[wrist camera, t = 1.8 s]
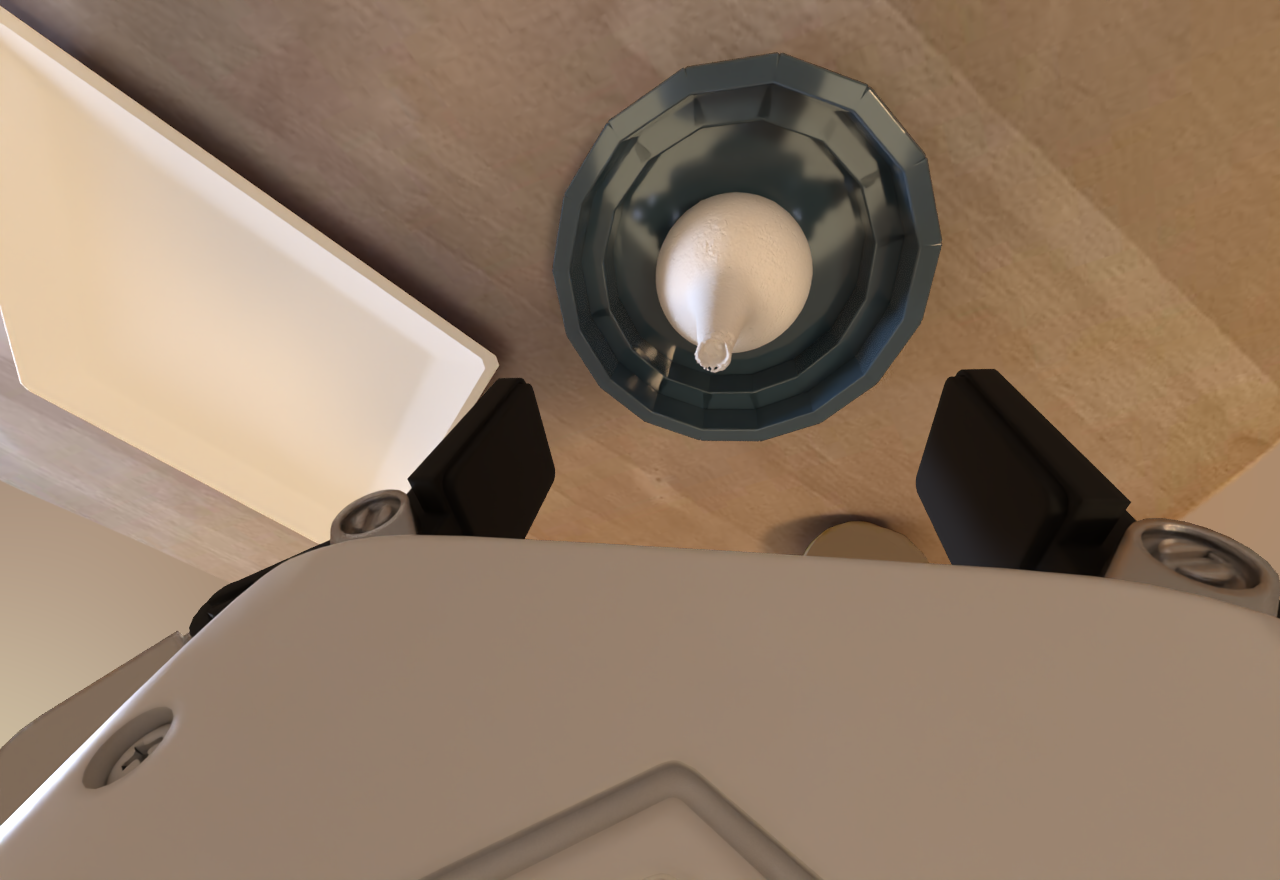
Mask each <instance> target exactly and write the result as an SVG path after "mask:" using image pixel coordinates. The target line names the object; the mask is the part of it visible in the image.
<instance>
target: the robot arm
mask: <svg viewBox="0 0 1280 880" xmlns="http://www.w3.org/2000/svg"><path fill="white" fill-rule="evenodd" d="M554 478H555V467H554V463H553V460H552V456H551V452H550V449H549V445H548V441H547V438H546V434H545V431H544V427H543V423H542V420H541V416H540V412H539V409H538V405H537V401H536V398H535V394H534V390H533V388H532V386H531V385H530V384H526V382H525V381H524V379H522V378H499V379H498V380H497V381H496V382H495V383H494V384H493V385H492V386H491V387H490V388H489V389H488V391H487V392H486V393H485V394H484V395H483V396H482V397H481V398H480V399H479V400H478V402H477V403H476V404H475V405H474V406H473V407H472V408H471V409H470V410H469V411H468V413H467V414H466V415H465V416H464V417H463V418H462V419H461V420H460V421H459V422H458V423H457V425H456V426H455V427H454V428H453V429H452V430H451V431H450V432H449V433H448V434H447V436H446V437H445V438H444V439H443V440H442V441H441V442H440V443H439V444H438V445H437V447H436V448H435V449H434V450H433V451H432V452H431V453H430V454H429V455H428V456H427V458H426V459H425V460H424V461H423V462H422V463H421V464H420V465H419V466H418V467H417V469H416V470H415V471H414V472H413V473H412V474H411V475H410V476H409V477H408V478H407V480H408V482H409V483H410V485H411V487H412V488H411V489H410V490H409V492H408V493H407V494H406V493H404V492H402V491H400V490H394V489H388V490H380V491H377V492H373V493H370V494H367V495H365V496H363V497H361V498H359V499H357V500H355V501H354V502H352V503H350V504H349V505H347V506H346V507H345V508H344V509H343V510H342V511H340V512H339V513H338V515H337V516H336V517H335V519H334V520H333V522H332V525H331V529H330V540H328V541H326V542H324V543H322V544H319V545H317V546H315V547H313V548H310V549H308V550H306V551H304V552H301V553H299V554H297V555H295V556H292V557H290V558H288V559H286V560H284V561H281V562H279V563H277V564H275V565H272V566H270V567H268V568H266V569H263V570H261V571H259V572H257V573H254V574H252V575H250V576H248V577H245V578H243V579H241V580H239V581H236V582H233V583H231V584H228V585H227V586H225V587H223V588H222V589H220V590H219V591H217V592H216V593H215V594H214V595H213V596H212V597H211V598H210V599H209V600H208V601H207V603H205V604H204V605H203V606H202V607H201V608H200V610H199V611H198V613H197V614H196V615H195V616H194V617H193V620H192V622H191V625H190V627H189V629H190V632H189V633H188V634H186V635H184V636H183V635H182V634H181V633H180V632H179V631H176V632H175V633H173V634H171V635H170V636H168V637H166V638H165V639H163V640H162V641H160V642H159V643H157V644H155V645H154V646H152V647H150V648H149V649H147V650H145V651H144V652H142V653H141V654H139V655H138V656H136V657H134V658H133V659H131V660H129V661H128V662H126V663H125V664H123V665H121V666H120V667H118V668H117V669H115V670H113V671H112V672H110V673H108V674H107V675H105V676H104V677H102V678H100V679H99V680H97V681H96V682H94V683H92V684H91V685H89V686H88V687H86V688H84V689H83V690H81V691H79V692H78V693H76V694H75V695H73V696H71V697H70V698H68V699H66V700H65V701H63V702H62V703H60V704H58V705H57V706H55V707H54V708H52V709H50V710H49V711H47V712H45V713H44V714H42V715H41V716H39V717H38V718H37V719H35V720H34V721H32V722H31V723H30V724H28V725H27V726H25V727H24V728H22V729H21V730H20V731H19V732H18V733H17V734H15V735H14V736H13V737H12V738H11V739H10V740H9V741H8V742H7V743H6V744H5V745H4V746H3V747H2V748H1V749H0V880H1280V600H1279V598H1280V580H1279V576H1278V574H1277V573H1276V571H1275V570H1274V569H1273V568H1272V567H1271V565H1270V564H1269V563H1268V562H1267V561H1266V560H1265V559H1263V558H1262V557H1261V556H1259V555H1258V554H1257V553H1255V552H1254V551H1253V550H1251V549H1250V548H1248V547H1246V546H1244V545H1243V544H1241V543H1239V542H1237V541H1235V540H1234V539H1232V538H1230V537H1228V536H1225V535H1223V534H1221V533H1218V532H1215V531H1213V530H1211V529H1208V528H1205V527H1202V526H1198V525H1195V524H1191V523H1188V522H1184V521H1178V520H1171V519H1165V518H1148V519H1143V520H1139V521H1136V520H1135V519H1134V518H1133V517H1132V516H1131V515H1130V514H1129V513H1128V512H1127V511H1126V509H1127V507H1128V506H1129V504H1130V503H1131V502H1130V501H1129V500H1128V499H1127V498H1126V497H1125V496H1124V495H1123V494H1122V493H1121V492H1120V491H1119V490H1118V489H1117V488H1116V487H1115V486H1114V485H1113V484H1112V483H1111V482H1110V481H1109V480H1108V479H1107V478H1106V477H1105V476H1104V475H1103V474H1102V473H1101V472H1100V471H1099V470H1098V469H1097V468H1096V467H1095V466H1094V465H1093V464H1092V463H1091V462H1090V461H1089V460H1088V459H1087V458H1086V457H1085V456H1084V455H1083V454H1081V453H1080V452H1079V451H1078V450H1077V449H1076V448H1075V447H1074V446H1073V445H1072V444H1071V443H1070V442H1069V441H1068V440H1067V439H1066V438H1065V437H1064V436H1063V435H1062V434H1061V433H1060V432H1059V431H1058V430H1057V429H1056V428H1055V427H1054V426H1053V425H1052V424H1051V423H1050V422H1049V421H1048V420H1047V419H1046V418H1045V417H1044V416H1043V415H1042V414H1041V413H1040V412H1039V411H1038V410H1037V409H1036V408H1035V407H1034V406H1033V405H1032V404H1031V403H1030V402H1029V401H1028V400H1026V399H1025V398H1024V397H1023V396H1022V395H1021V394H1020V393H1019V392H1018V391H1017V390H1016V389H1015V388H1014V387H1013V386H1012V385H1011V384H1010V383H1009V382H1008V381H1007V380H1006V379H1005V378H1004V377H1003V376H1002V375H1001V374H1000V373H999V372H998V371H997V370H995V369H971V370H960V371H959V372H958V373H957V374H956V376H955V377H949V378H948V379H947V380H946V382H945V385H944V388H943V391H942V394H941V398H940V401H939V404H938V408H937V411H936V414H935V417H934V421H933V424H932V427H931V430H930V434H929V437H928V440H927V443H926V447H925V450H924V453H923V457H922V460H921V463H920V466H919V470H918V473H917V477H916V489H917V493H918V495H919V497H920V499H921V501H922V503H923V505H924V507H925V510H926V512H927V514H928V516H929V518H930V520H931V522H932V524H933V526H934V528H935V531H936V533H937V535H938V537H939V539H940V541H941V543H942V545H943V547H944V549H945V551H946V554H947V556H948V558H949V560H950V562H951V564H952V565H946V564H931V563H915V562H900V561H884V560H868V559H853V558H837V557H820V556H804V555H787V554H770V553H754V552H737V551H721V550H704V549H687V548H670V547H652V546H635V545H618V544H601V543H585V542H567V541H548V540H530V539H525V537H526V535H527V533H528V531H529V529H530V527H531V525H532V523H533V521H534V519H535V517H536V515H537V513H538V511H539V509H540V507H541V505H542V503H543V501H544V499H545V497H546V495H547V493H548V491H549V489H550V487H551V485H552V483H553V481H554Z"/></svg>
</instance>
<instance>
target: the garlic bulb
mask: <svg viewBox="0 0 1280 880" xmlns="http://www.w3.org/2000/svg"><path fill="white" fill-rule="evenodd" d="M812 272H813V267H812V257H811V251H810V248H809V244H808V241H807V239H806V237H805V235H804V233H803V231H802V229H801V227H800V226H799V224H798V223H797V222H796V221H795V219H794V218H793V217H792V216H791V215H790V213H788V212H787V211H786V210H785V209H784V208H782V207H781V206H780V205H778V204H777V203H776V202H774V201H772V200H769V199H767V198H765V197H762V196H759V195H755V194H750V193H742V192H741V193H740V192H732V193H723V194H719V195H715V196H712V197H709V198H707V199H705V200H701V201H700V202H699V203H698V204H696V205H694V206H693V207H691V208H690V209H688V210H687V211H686V212H685V213H684V214H683V215H682V216H681V217H680V218H679V219H678V220H677V221H676V223H675V224H674V225H673V226H672V228H671V229H670V231H669V232H668V234H667V236H666V238H665V240H664V242H663V244H662V247H661V250H660V252H659V256H658V260H657V266H656V289H657V294H658V298H659V302H660V305H661V307H662V310H663V312H664V314H665V316H666V318H667V319H668V321H669V322H670V324H671V325H672V327H673V328H674V329H675V330H676V331H677V332H678V333H679V334H680V335H681V336H682V337H684V338H685V339H686V340H688V341H689V342H691V343H692V344H694V345H696V346H697V349H696V350H697V351H696V353H695V354H694V355H695V356H696V357H695V359H696V361H697V363H699V364H700V366H703V367H704V368H703V369H705V368H707V371H709V369H708V367H709V366H710V367H711V372H714V373H716V372H718V371H723V370H724V369H726V367H728V365H729V364H730V362H731V356H732V353H739V352H745V351H749V350H753V349H756V348H759V347H761V346H763V345H765V344H767V343H769V342H771V341H772V340H774V339H775V338H777V337H778V336H780V335H781V334H782V333H783V332H784V331H785V330H787V329H788V328H789V326H790V325H791V324H792V323H793V322H794V321H795V319H796V318H797V317H798V315H799V314H800V312H801V310H802V309H803V307H804V304H805V302H806V300H807V298H808V294H809V290H810V286H811V281H812V275H813V273H812ZM715 367H718V368H717V369H716V370H714V368H715Z"/></svg>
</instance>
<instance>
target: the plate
mask: <svg viewBox="0 0 1280 880" xmlns="http://www.w3.org/2000/svg"><path fill="white" fill-rule="evenodd" d="M0 311H1V315H2V318H3V322H4V326H5V329H6V333H7V337H8V340H9V344H10V348H11V351H12V355H13V359H14V362H15V366H16V369H17V373H18V377H19V380H20V383H21V384H22V385H23V386H24V387H25V388H26V389H27V390H29V391H30V392H32V393H34V394H36V395H38V396H40V397H42V398H43V399H45V400H47V401H49V402H51V403H53V404H55V405H57V406H59V407H61V408H62V409H64V410H66V411H68V412H70V413H72V414H74V415H76V416H78V417H79V418H81V419H83V420H85V421H87V422H89V423H91V424H93V425H95V426H96V427H98V428H100V429H102V430H104V431H106V432H108V433H110V434H112V435H113V436H115V437H117V438H119V439H121V440H123V441H125V442H127V443H129V444H131V445H132V446H134V447H136V448H138V449H140V450H142V451H144V452H146V453H148V454H149V455H151V456H153V457H155V458H157V459H159V460H161V461H163V462H165V463H166V464H168V465H170V466H172V467H174V468H176V469H178V470H180V471H182V472H184V473H185V474H187V475H189V476H191V477H193V478H195V479H197V480H199V481H201V482H202V483H204V484H206V485H208V486H210V487H212V488H214V489H216V490H218V491H219V492H221V493H223V494H225V495H227V496H229V497H231V498H233V499H235V500H237V501H238V502H240V503H242V504H244V505H246V506H248V507H250V508H252V509H254V510H255V511H257V512H259V513H261V514H263V515H265V516H267V517H269V518H271V519H272V520H274V521H276V522H278V523H280V524H282V525H284V526H286V527H288V528H289V529H291V530H293V531H295V532H297V533H299V534H301V535H303V536H305V537H307V538H308V539H310V540H312V541H314V542H316V543H318V544H322V543H324V542H326V541H328V540H330V529H331V525H332V522H333V520H334V519H335V517H336V516H337V515H338V513H339V512H340V511H342V510H343V509H344V508H345V507H346V506H347V505H349V504H350V503H352V502H354V501H355V500H357V499H359V498H361V497H363V496H365V495H367V494H370V493H373V492H377V491H380V490H388V489H394V490H400V491H402V492H404V493H406V494H407V493H408V492H409V490H410V489H411V488H412V487H411V485H410V483H409V482H408V480H407V478H408V477H409V476H410V475H411V474H412V473H413V472H414V471H415V470H416V469H417V467H418V466H419V465H420V464H421V463H422V462H423V461H424V460H425V459H426V458H427V456H428V455H429V454H430V453H431V452H432V451H433V450H434V449H435V448H436V447H437V445H438V444H439V443H440V442H441V441H442V440H443V439H444V438H445V437H446V436H447V434H448V433H449V432H450V431H451V430H452V429H453V428H454V427H455V426H456V425H457V423H458V422H459V421H460V420H461V419H462V418H463V417H464V416H465V415H466V414H467V413H468V411H469V410H470V409H471V408H472V407H473V406H474V405H475V404H476V402H477V400H478V399H479V397H480V395H481V394H482V392H483V391H484V389H485V387H486V386H487V384H488V383H489V381H490V379H491V378H492V376H493V375H494V373H495V371H496V370H497V368H498V367H499V363H498V361H497V358H496V356H495V355H494V354H492V353H491V352H490V351H488V350H487V349H485V348H484V347H483V346H481V345H480V344H478V343H477V342H475V341H474V340H473V339H471V338H470V337H468V336H467V335H466V334H464V333H463V332H461V331H460V330H458V329H457V328H456V327H454V326H453V325H451V324H450V323H449V322H447V321H446V320H444V319H443V318H441V317H440V316H439V315H437V314H436V313H434V312H433V311H432V310H430V309H429V308H427V307H426V306H424V305H423V304H422V303H420V302H419V301H417V300H416V299H415V298H413V297H412V296H410V295H409V294H407V293H406V292H405V291H403V290H402V289H400V288H399V287H398V286H396V285H395V284H393V283H392V282H391V281H389V280H388V279H386V278H385V277H383V276H382V275H381V274H379V273H378V272H376V271H375V270H374V269H372V268H371V267H369V266H368V265H366V264H365V263H364V262H362V261H361V260H359V259H358V258H357V257H355V256H354V255H352V254H351V253H349V252H348V251H347V250H345V249H344V248H342V247H341V246H340V245H338V244H337V243H335V242H334V241H332V240H331V239H330V238H328V237H327V236H325V235H324V234H323V233H321V232H320V231H318V230H317V229H315V228H314V227H313V226H311V225H310V224H308V223H307V222H306V221H304V220H303V219H301V218H300V217H299V216H297V215H296V214H294V213H293V212H291V211H290V210H289V209H287V208H286V207H284V206H283V205H282V204H280V203H279V202H277V201H276V200H274V199H273V198H272V197H270V196H269V195H267V194H266V193H265V192H263V191H262V190H260V189H259V188H257V187H256V186H255V185H253V184H252V183H250V182H249V181H248V180H246V179H245V178H243V177H242V176H240V175H239V174H238V173H236V172H235V171H233V170H232V169H231V168H229V167H228V166H226V165H225V164H223V163H222V162H221V161H219V160H218V159H216V158H215V157H214V156H212V155H211V154H209V153H208V152H207V151H205V150H204V149H202V148H201V147H199V146H198V145H197V144H195V143H194V142H192V141H191V140H190V139H188V138H187V137H185V136H184V135H182V134H181V133H180V132H178V131H177V130H175V129H174V128H173V127H171V126H170V125H168V124H167V123H165V122H164V121H163V120H161V119H160V118H158V117H157V116H156V115H154V114H153V113H151V112H150V111H148V110H147V109H146V108H144V107H143V106H141V105H140V104H139V103H137V102H136V101H134V100H133V99H131V98H130V97H129V96H127V95H126V94H124V93H123V92H122V91H120V90H119V89H117V88H116V87H115V86H113V85H112V84H110V83H109V82H107V81H106V80H105V79H103V78H102V77H100V76H99V75H98V74H96V73H95V72H93V71H92V70H90V69H89V68H88V67H86V66H85V65H83V64H82V63H81V62H79V61H78V60H76V59H75V58H73V57H72V56H71V55H69V54H68V53H66V52H65V51H64V50H62V49H61V48H59V47H58V46H56V45H55V44H54V43H52V42H51V41H49V40H48V39H47V38H45V37H44V36H42V35H41V34H39V33H38V32H37V31H35V30H34V29H32V28H31V27H30V26H28V25H27V24H25V23H24V22H23V21H21V20H20V19H18V18H17V17H15V16H14V15H13V14H11V13H10V12H8V11H7V10H6V9H4V8H3V7H1V6H0Z"/></svg>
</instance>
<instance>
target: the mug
mask: <svg viewBox="0 0 1280 880" xmlns="http://www.w3.org/2000/svg"><path fill="white" fill-rule="evenodd" d="M803 555H804V556H820V557H837V558H853V559H868V560H884V561H900V562H915V563H929V562H928V560H927V558H926V557H925V555H924V554H923V553H922V552H921V551H920V550H919V549H918V548H917V547H916V546H915V545H914V544H913V543H912V542H911V541H910V540H909V539H908V538H907V537H906V536H904V535H903V534H901V533H898V532H895V531H892V530H889V529H886V528H883V527H880V526H877V525H875V524H872V523H869V522H863V521H852V522H847V523H843V524H840V525H836V526H834V527H829V528H828V529H827V530H826V531H824V532H823V533H822V534H820V535H819V536H818V537H817V538H816V539H814V540H813V541H812V543H811V544H810V545H809V546H808V547H807V549H806V551H805V553H804V554H803Z"/></svg>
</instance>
